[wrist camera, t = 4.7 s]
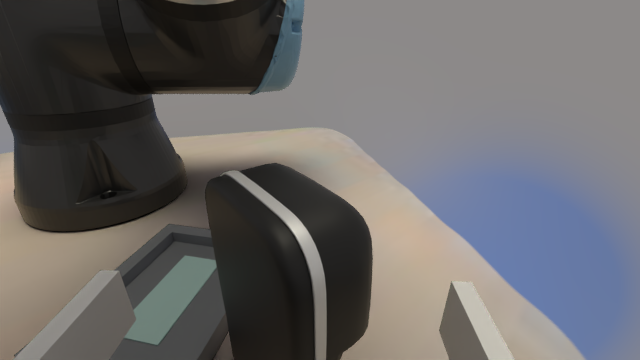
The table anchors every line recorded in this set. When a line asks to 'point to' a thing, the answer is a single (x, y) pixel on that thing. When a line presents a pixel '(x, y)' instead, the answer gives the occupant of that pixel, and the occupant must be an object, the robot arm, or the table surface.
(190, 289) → the dock
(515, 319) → the table surface
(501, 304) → the table surface
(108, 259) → the table surface
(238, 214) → the battery charger
